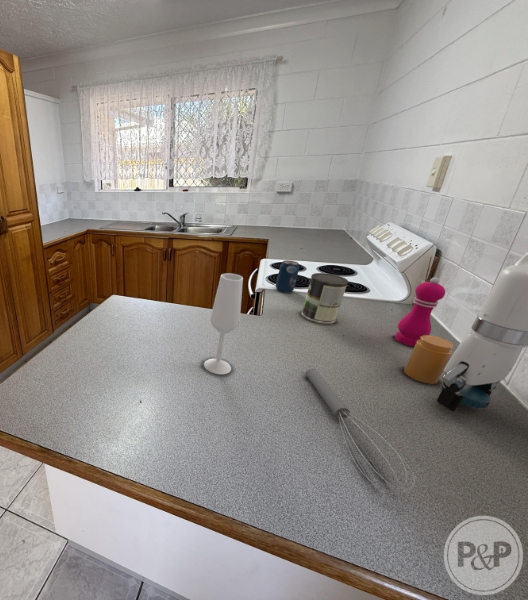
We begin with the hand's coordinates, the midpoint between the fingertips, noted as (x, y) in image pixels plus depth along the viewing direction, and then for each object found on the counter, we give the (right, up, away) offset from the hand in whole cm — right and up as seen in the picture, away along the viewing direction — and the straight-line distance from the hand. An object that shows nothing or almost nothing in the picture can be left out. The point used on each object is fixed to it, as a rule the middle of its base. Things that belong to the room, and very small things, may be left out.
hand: (459, 403), depth 66 cm
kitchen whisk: (-29, -3, -5) cm, 29 cm away
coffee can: (-6, +16, +40) cm, 43 cm away
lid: (0, +3, -1) cm, 3 cm away
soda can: (-6, +26, +62) cm, 68 cm away
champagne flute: (-48, +5, +13) cm, 50 cm away
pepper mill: (+12, +10, +26) cm, 30 cm away
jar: (+2, +3, +11) cm, 11 cm away
